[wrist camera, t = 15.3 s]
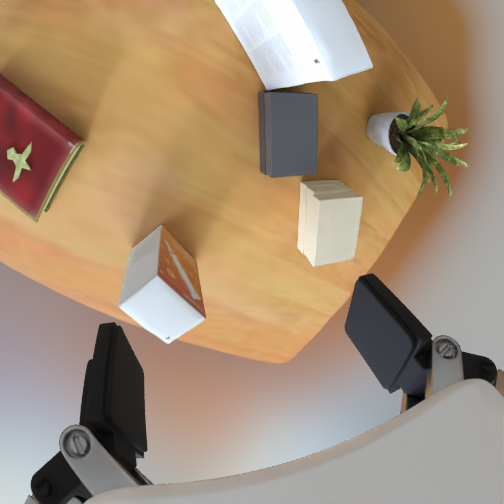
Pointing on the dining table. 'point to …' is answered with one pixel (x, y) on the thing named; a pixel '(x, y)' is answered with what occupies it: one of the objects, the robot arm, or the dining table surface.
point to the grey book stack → (288, 133)
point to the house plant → (415, 140)
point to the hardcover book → (32, 151)
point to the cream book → (334, 227)
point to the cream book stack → (306, 201)
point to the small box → (162, 287)
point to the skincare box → (297, 40)
